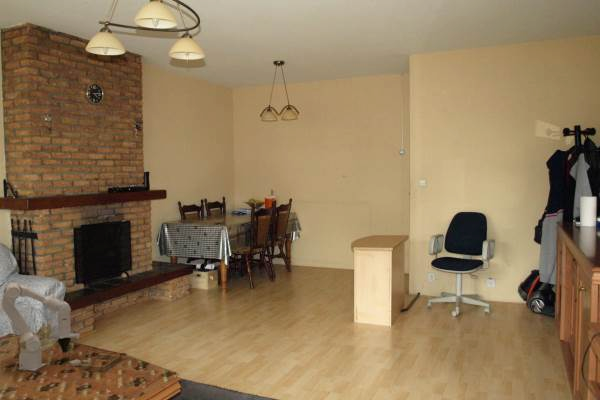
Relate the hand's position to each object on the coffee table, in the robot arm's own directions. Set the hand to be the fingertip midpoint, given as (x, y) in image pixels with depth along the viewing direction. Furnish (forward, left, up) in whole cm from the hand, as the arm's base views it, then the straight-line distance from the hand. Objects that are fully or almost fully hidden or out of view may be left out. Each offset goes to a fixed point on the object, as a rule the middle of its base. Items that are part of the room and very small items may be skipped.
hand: (64, 352), depth 242 cm
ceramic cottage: (-29, +15, -5) cm, 33 cm away
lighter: (+6, 0, -4) cm, 8 cm away
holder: (+21, 0, -5) cm, 22 cm away
